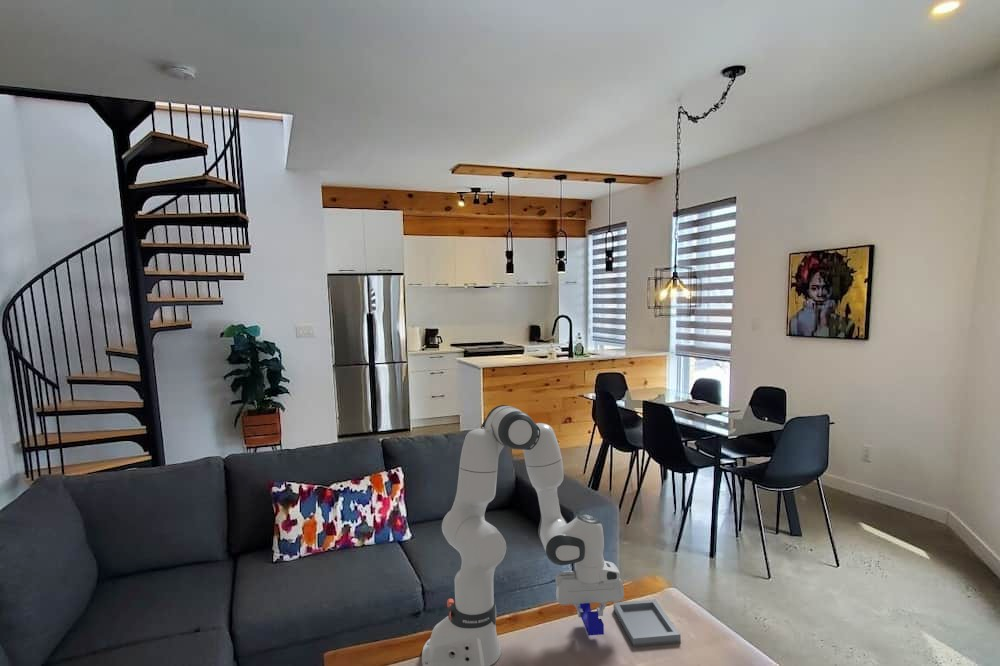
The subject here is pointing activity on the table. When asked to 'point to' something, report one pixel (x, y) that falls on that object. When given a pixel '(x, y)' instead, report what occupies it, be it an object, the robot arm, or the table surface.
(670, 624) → the tray
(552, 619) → the table surface
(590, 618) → the blue angular stepped piece
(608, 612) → the table surface
